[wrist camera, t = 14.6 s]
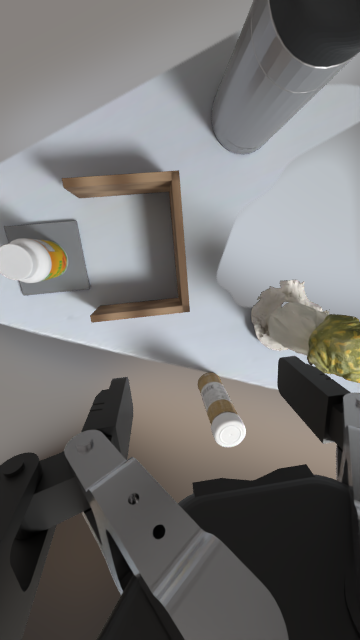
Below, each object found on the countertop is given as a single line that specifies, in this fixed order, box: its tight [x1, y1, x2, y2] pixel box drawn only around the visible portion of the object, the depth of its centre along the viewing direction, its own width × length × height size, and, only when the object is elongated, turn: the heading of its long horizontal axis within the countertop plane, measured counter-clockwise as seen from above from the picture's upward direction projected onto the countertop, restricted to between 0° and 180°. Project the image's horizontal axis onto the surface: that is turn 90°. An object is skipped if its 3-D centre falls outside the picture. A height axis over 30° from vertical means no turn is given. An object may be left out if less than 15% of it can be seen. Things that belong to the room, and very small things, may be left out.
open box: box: [62, 171, 190, 322], centre depth 34 cm, size 14×18×6 cm
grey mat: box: [4, 221, 90, 295], centre depth 36 cm, size 10×10×1 cm
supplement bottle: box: [0, 238, 68, 283], centre depth 31 cm, size 5×5×10 cm
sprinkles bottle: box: [198, 373, 246, 447], centre depth 38 cm, size 5×5×13 cm
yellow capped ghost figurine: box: [251, 280, 360, 383], centre depth 34 cm, size 12×13×18 cm
